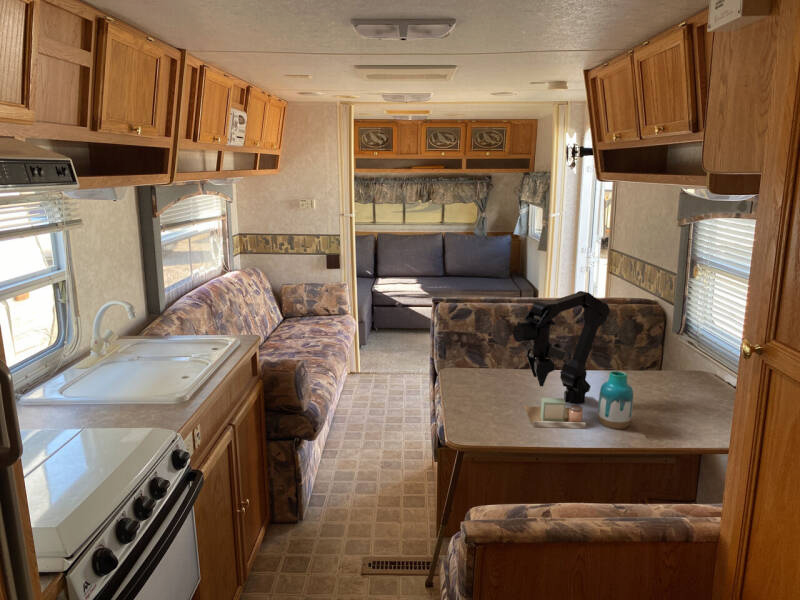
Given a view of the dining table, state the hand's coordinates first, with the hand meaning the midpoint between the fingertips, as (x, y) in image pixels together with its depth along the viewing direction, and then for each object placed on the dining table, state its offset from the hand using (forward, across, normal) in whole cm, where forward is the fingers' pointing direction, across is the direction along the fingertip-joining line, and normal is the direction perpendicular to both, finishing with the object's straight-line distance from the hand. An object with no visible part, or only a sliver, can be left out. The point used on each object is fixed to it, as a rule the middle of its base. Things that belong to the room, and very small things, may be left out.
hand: (538, 381), depth 201 cm
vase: (+12, -11, -23) cm, 28 cm away
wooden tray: (+12, -6, -4) cm, 14 cm away
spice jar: (+10, -12, -10) cm, 19 cm away
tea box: (+10, -9, -3) cm, 14 cm away
